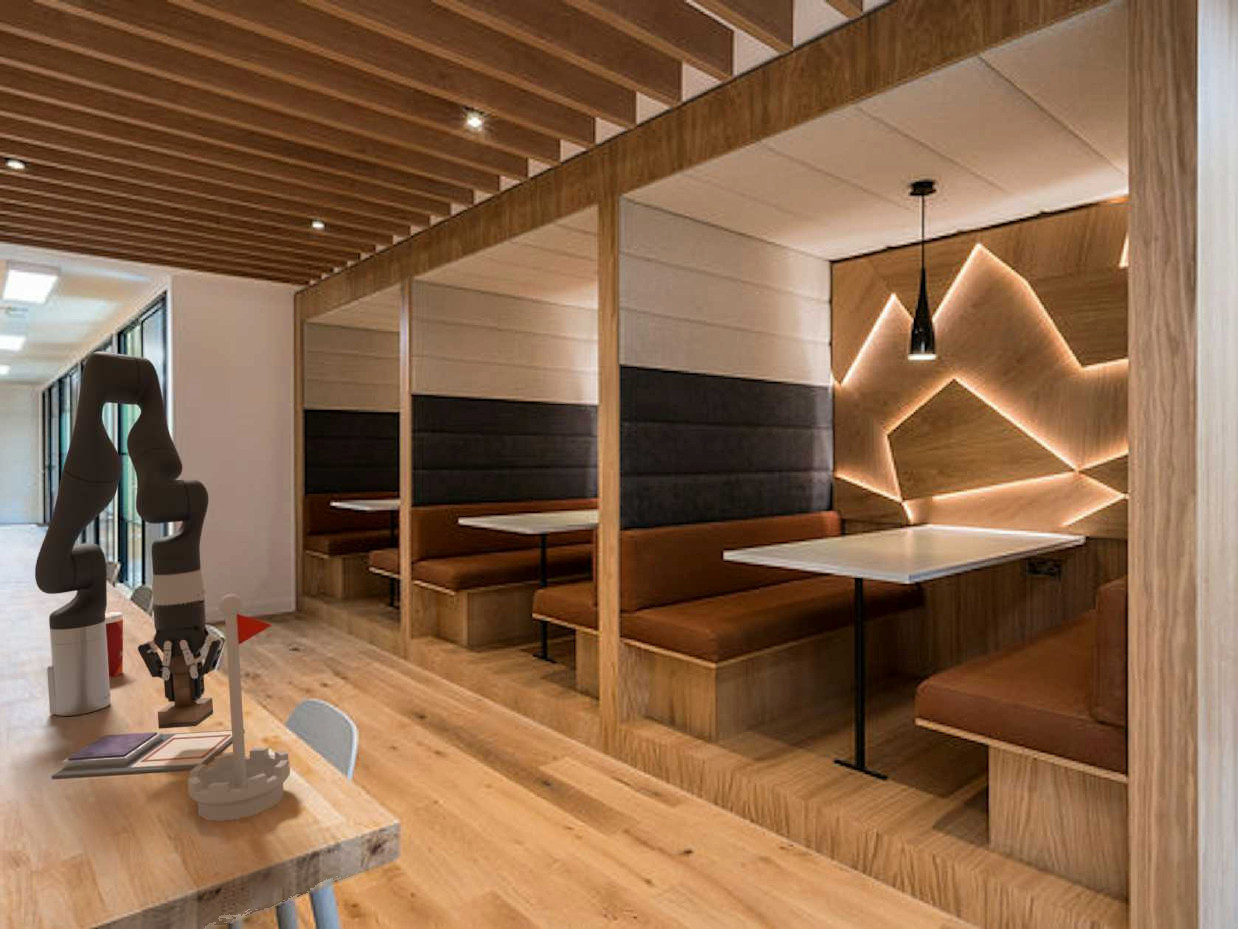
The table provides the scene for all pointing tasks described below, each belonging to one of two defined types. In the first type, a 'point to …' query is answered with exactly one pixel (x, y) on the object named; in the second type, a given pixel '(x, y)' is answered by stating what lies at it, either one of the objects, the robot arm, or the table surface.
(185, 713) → the stamp
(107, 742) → the ink pad
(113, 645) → the paper cup
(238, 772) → the flag stand
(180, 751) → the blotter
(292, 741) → the table surface
